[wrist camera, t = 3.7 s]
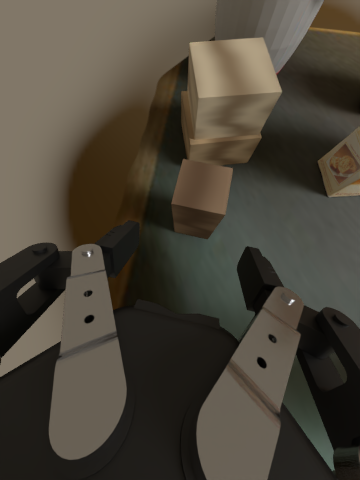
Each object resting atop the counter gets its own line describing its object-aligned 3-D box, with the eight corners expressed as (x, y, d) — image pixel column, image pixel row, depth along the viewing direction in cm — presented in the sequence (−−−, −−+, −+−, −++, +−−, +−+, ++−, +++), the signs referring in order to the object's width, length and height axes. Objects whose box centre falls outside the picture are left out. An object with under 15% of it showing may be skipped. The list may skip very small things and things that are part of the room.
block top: (245, 87, 23) (263, 37, 18) (258, 134, 21) (282, 91, 16) (187, 92, 23) (189, 42, 18) (194, 139, 21) (198, 98, 16)
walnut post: (213, 208, 23) (233, 168, 15) (207, 239, 22) (225, 214, 14) (182, 202, 24) (183, 158, 15) (174, 231, 23) (171, 203, 14)
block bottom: (234, 118, 28) (245, 85, 23) (246, 163, 26) (261, 137, 21) (181, 123, 28) (181, 91, 23) (188, 170, 25) (190, 144, 21)
